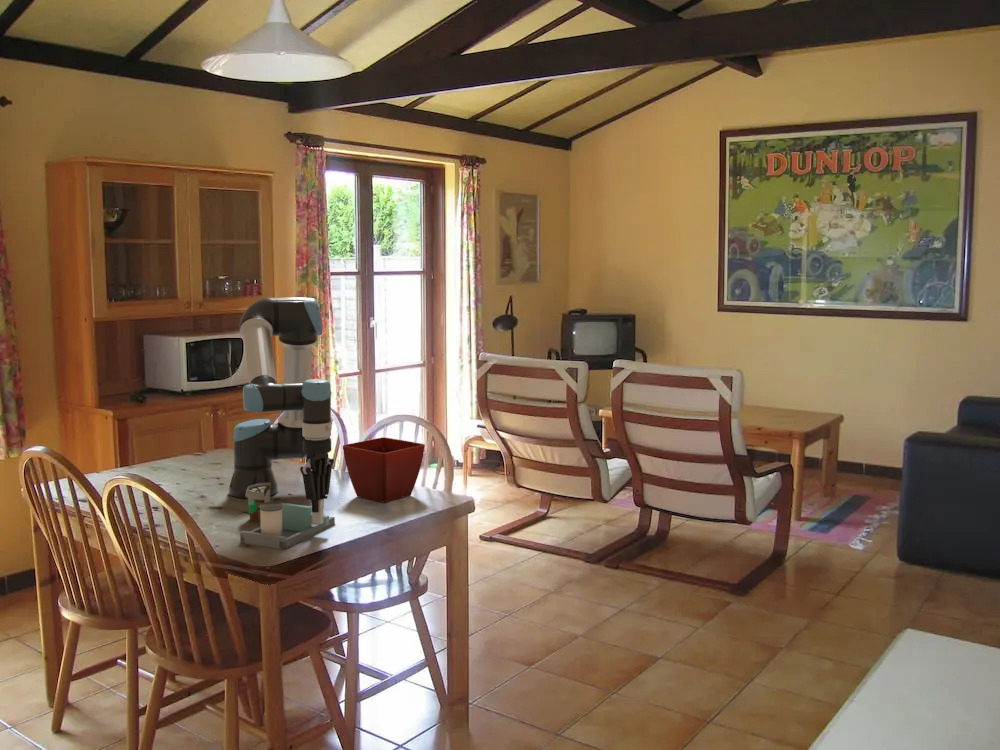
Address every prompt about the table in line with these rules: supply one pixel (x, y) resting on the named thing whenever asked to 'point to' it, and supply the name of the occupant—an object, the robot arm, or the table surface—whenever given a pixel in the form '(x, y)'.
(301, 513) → the pusher
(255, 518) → the food container
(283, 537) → the grey tray
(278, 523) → the jar
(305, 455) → the robot arm
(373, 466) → the plant pot
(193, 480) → the table surface
